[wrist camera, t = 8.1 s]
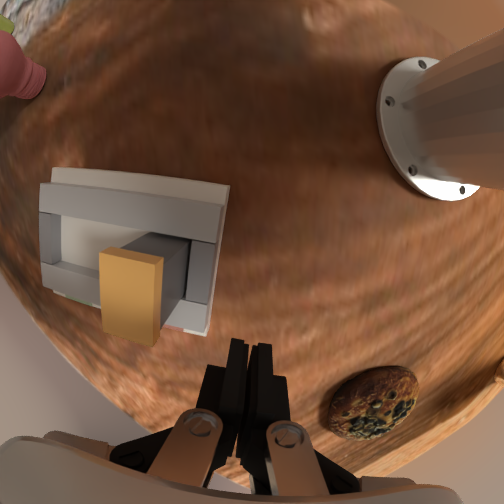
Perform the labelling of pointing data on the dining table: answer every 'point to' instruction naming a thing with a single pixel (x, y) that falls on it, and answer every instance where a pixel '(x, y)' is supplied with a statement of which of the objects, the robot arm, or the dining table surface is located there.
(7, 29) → the plant pot
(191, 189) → the switch panel
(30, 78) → the light bulb
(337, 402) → the bread roll
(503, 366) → the beer glass
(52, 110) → the dining table surface
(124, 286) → the breaker handle
